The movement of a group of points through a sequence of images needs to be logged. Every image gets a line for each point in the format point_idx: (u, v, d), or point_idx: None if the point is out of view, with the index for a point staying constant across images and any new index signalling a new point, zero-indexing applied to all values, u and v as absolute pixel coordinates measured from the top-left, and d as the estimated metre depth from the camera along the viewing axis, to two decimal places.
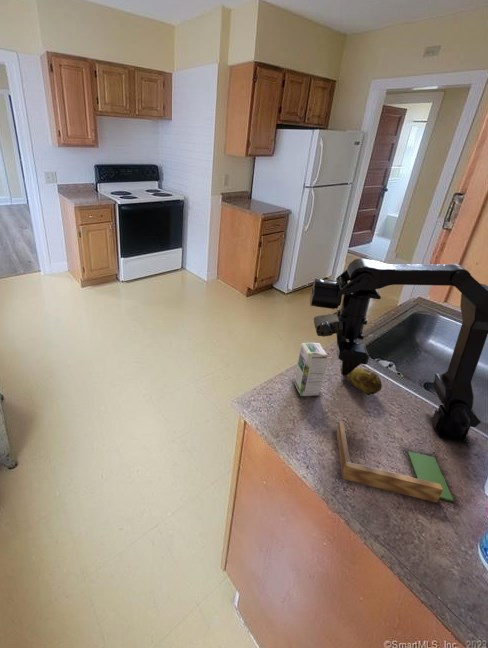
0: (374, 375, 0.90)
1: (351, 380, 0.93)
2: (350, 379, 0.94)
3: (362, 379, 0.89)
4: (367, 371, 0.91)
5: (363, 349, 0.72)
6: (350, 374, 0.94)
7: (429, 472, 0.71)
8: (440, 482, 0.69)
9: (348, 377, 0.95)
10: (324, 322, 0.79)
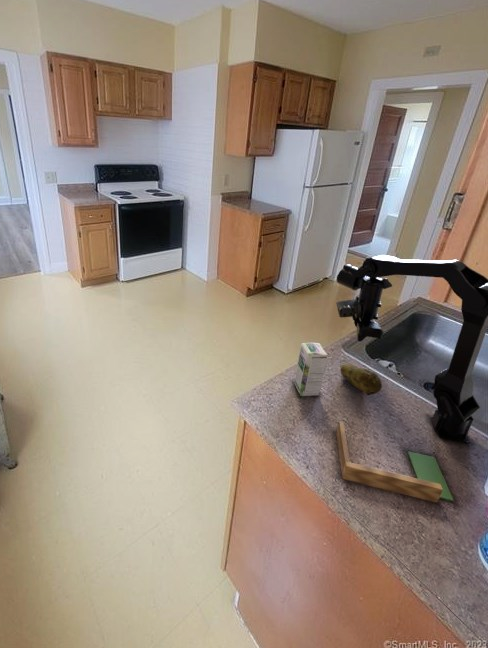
0: (374, 375, 0.90)
1: (351, 380, 0.93)
2: (350, 379, 0.94)
3: (362, 379, 0.89)
4: (367, 371, 0.91)
5: (378, 326, 0.90)
6: (350, 374, 0.94)
7: (429, 472, 0.71)
8: (440, 482, 0.69)
9: (348, 377, 0.95)
10: (345, 306, 0.97)
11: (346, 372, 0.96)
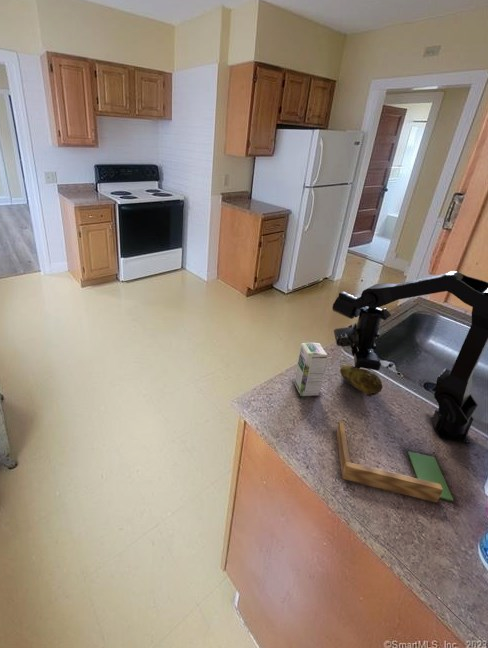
0: (374, 376, 0.89)
1: (351, 381, 0.93)
2: (350, 380, 0.93)
3: (363, 380, 0.89)
4: (367, 372, 0.91)
5: (376, 358, 0.88)
6: (350, 375, 0.93)
7: (429, 472, 0.71)
8: (440, 482, 0.69)
9: (348, 378, 0.94)
10: (343, 334, 0.95)
11: (346, 374, 0.95)
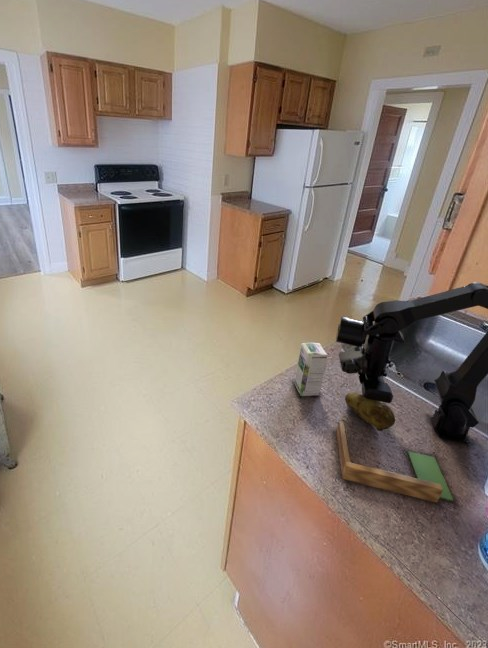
0: (386, 408, 0.79)
1: (360, 413, 0.82)
2: (358, 412, 0.82)
3: (373, 413, 0.78)
4: (378, 403, 0.80)
5: (387, 388, 0.77)
6: (358, 406, 0.82)
7: (429, 472, 0.71)
8: (440, 482, 0.69)
9: (356, 409, 0.83)
10: (349, 359, 0.84)
11: (353, 404, 0.84)
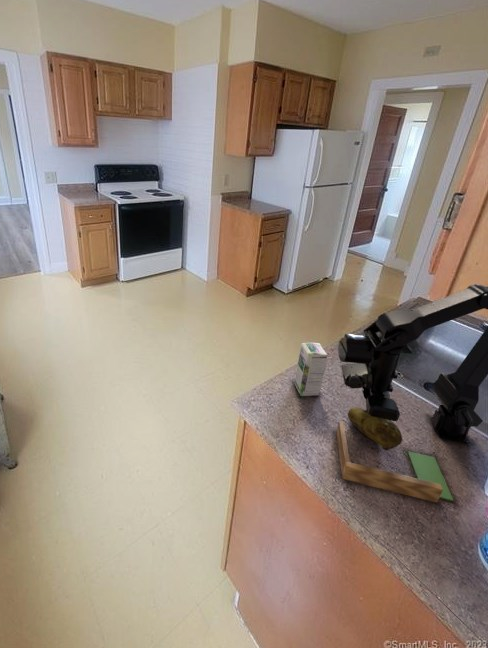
0: (392, 425, 0.74)
1: (364, 431, 0.77)
2: (362, 429, 0.77)
3: (379, 432, 0.73)
4: (383, 420, 0.75)
5: (394, 405, 0.72)
6: (362, 423, 0.77)
7: (429, 472, 0.71)
8: (440, 482, 0.69)
9: (360, 426, 0.78)
10: (353, 373, 0.79)
11: (357, 420, 0.79)
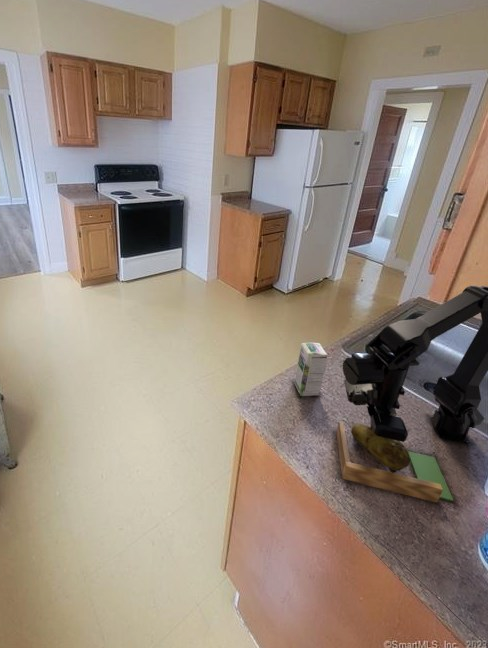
0: (400, 446, 0.69)
1: (369, 450, 0.72)
2: (367, 449, 0.72)
3: (385, 452, 0.68)
4: (390, 439, 0.70)
5: (401, 424, 0.68)
6: (367, 443, 0.72)
7: (429, 472, 0.71)
8: (440, 482, 0.69)
9: (364, 446, 0.73)
10: (357, 388, 0.74)
11: (361, 439, 0.74)
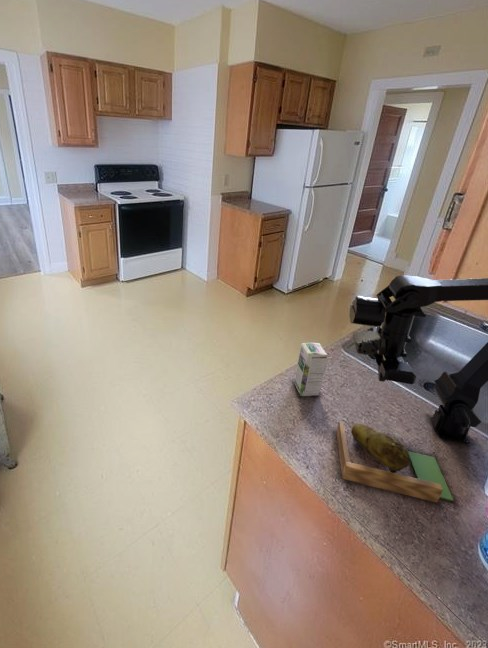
0: (400, 446, 0.69)
1: (369, 451, 0.72)
2: (367, 449, 0.72)
3: (385, 453, 0.68)
4: (390, 440, 0.70)
5: (409, 368, 0.71)
6: (367, 443, 0.72)
7: (429, 472, 0.71)
8: (440, 482, 0.69)
9: (364, 446, 0.73)
10: (365, 339, 0.78)
11: (361, 439, 0.74)
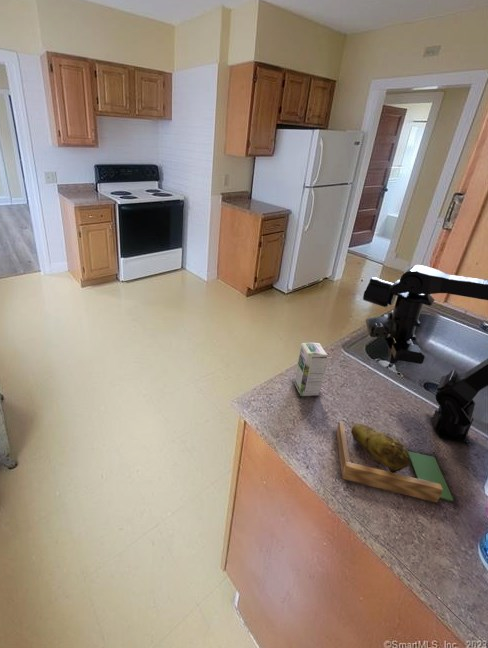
0: (400, 446, 0.69)
1: (369, 451, 0.72)
2: (367, 449, 0.72)
3: (385, 453, 0.68)
4: (390, 440, 0.70)
5: (418, 349, 0.77)
6: (367, 443, 0.72)
7: (429, 472, 0.71)
8: (440, 482, 0.69)
9: (364, 446, 0.73)
10: (377, 324, 0.84)
11: (361, 439, 0.74)
